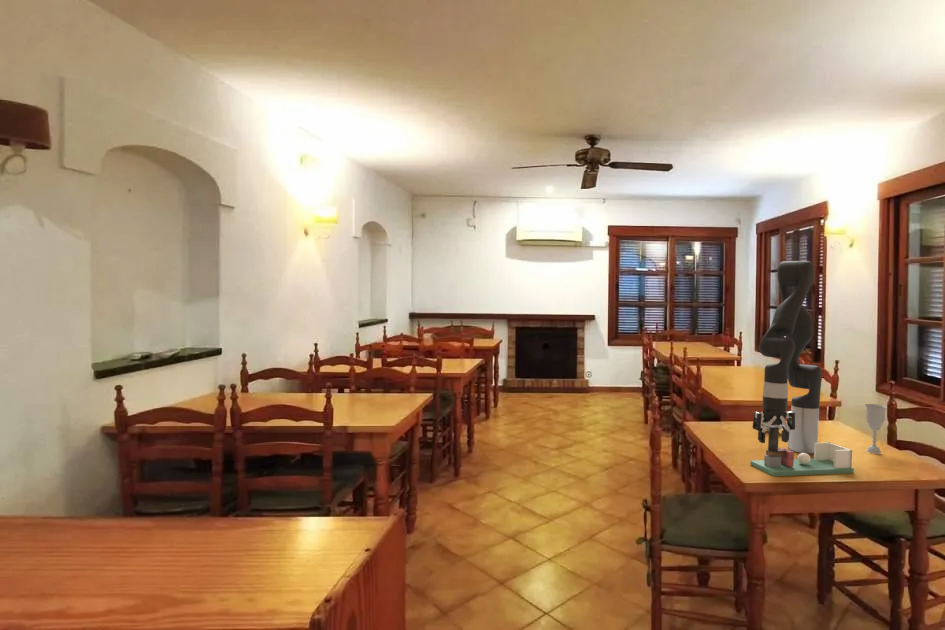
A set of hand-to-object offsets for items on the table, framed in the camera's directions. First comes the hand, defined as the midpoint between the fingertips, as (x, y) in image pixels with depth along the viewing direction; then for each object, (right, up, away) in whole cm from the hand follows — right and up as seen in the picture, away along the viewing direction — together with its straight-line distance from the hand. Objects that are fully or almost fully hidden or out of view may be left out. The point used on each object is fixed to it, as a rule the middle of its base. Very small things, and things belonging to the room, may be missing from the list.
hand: (773, 442), depth 193 cm
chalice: (+51, -9, +23) cm, 57 cm away
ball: (+12, -6, +2) cm, 13 cm away
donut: (+27, -8, +53) cm, 60 cm away
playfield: (+11, -10, +2) cm, 15 cm away
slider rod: (+2, -8, +1) cm, 8 cm away
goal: (+23, -8, +4) cm, 24 cm away
